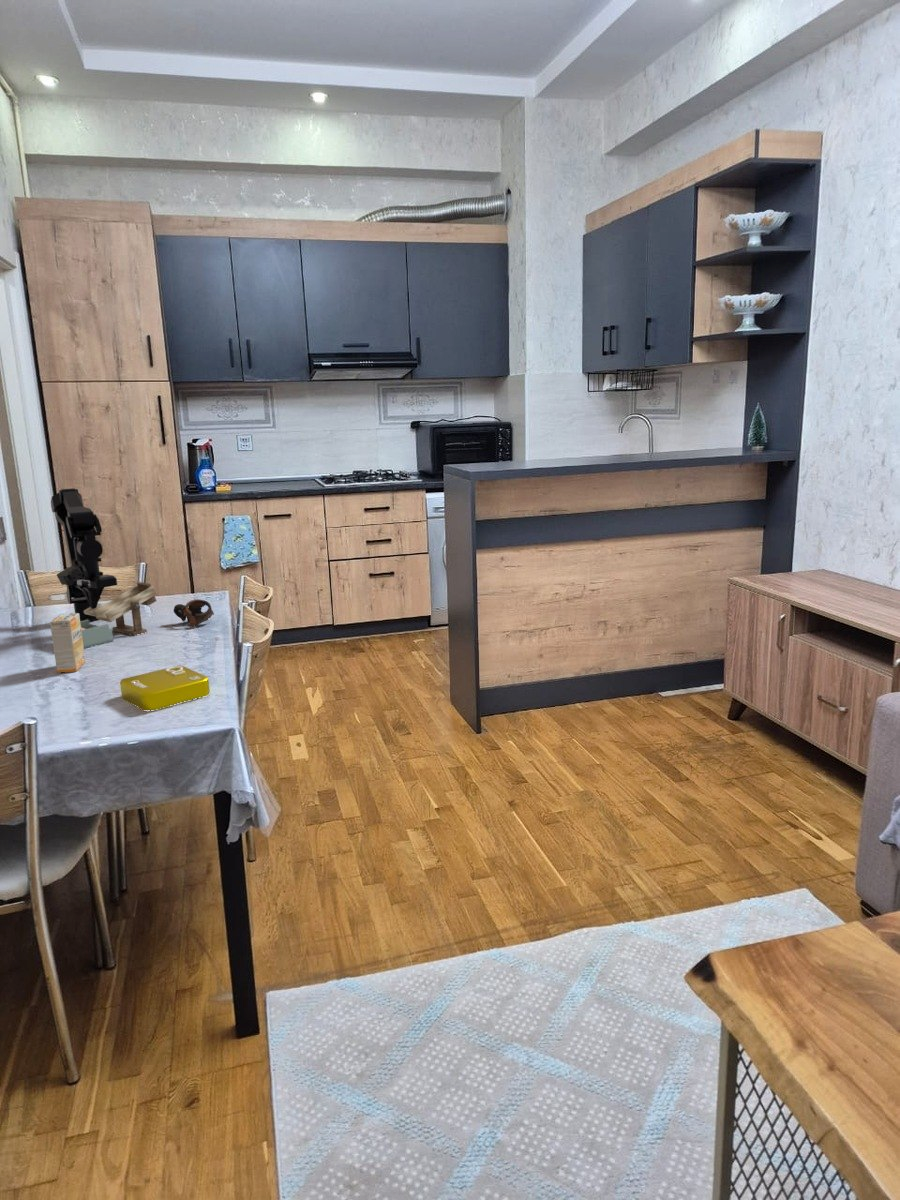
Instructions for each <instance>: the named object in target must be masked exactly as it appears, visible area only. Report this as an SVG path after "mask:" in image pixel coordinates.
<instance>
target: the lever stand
mask: <svg viewBox="0 0 900 1200" xmlns="http://www.w3.org/2000/svg"><path fill="white" fill-rule="evenodd" d="M115 598H116V597H115ZM115 598H113V599H115ZM140 605H141V604H140ZM140 605H139V601H133V602H131V610H130V611H131V617H132V625H129V624H125V617H124V616H125V615H124V614H123V615H122V616H120V617H118V618H117V619H115V624H116V626H114V627H112V628H111V629H112V632H116V631H117V632H116V633H120V632H121V633H120V634H124V633H126V634H125V635H128V634H131V635H130V636H133V635H136V636H138V635H137V634H140V635H142V634H141V633H144V634H146V633H145V632H147V633H148V631H147V628H143V627H142V617H141V606H140Z"/></svg>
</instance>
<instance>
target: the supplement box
mask: <svg viewBox="0 0 900 1200" xmlns="http://www.w3.org/2000/svg"><path fill="white" fill-rule="evenodd" d="M49 624H50V625H49V626H50V632H51V638H52V639H51V640H52V644H53V651H54V659H55V667H56V673H58V674H62V673H61V672H65V673H74V672H75V673H76V672H77V671H78V670H79V669H80V668H81V666H83V665H84V664H85V663H86V656H85V649H84V647H83V639H82V632H81V624H80V616H79V613H75V612H74V613H63V614H59V615H58V616H56V617H55V618H53V619H52V620H51V621H49Z"/></svg>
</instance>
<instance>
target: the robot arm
mask: <svg viewBox="0 0 900 1200" xmlns="http://www.w3.org/2000/svg"><path fill="white" fill-rule="evenodd" d="M50 507H51V512H52V513H54V516H55V519H56V521H58V523H59V524H61V526H62V528H63V532H64V538H65V545H66V548H67V554H68V558H69V562H70V566H69V567H67V568H65V569H63V570H62V571H60V572H58V573H57V574H56V577H57V579H58V580H59V582H60V584H61V585H65V586H66V599H67V602H68V604H70V605H71V604H73V608H74V613H79V616H80V621H84V620H89V622H92V621H97V620H99V619H97V618H96V616H91V615H87V614H84V612H83V611H84V610H86V609H88V608H89V607H91V608H92V609H94V608H96V607H97V605H99V601H100V600H101V596H102V593H103V591H104V590H105V589H104V588H108V587H109V588H110V587H115V586H117V585H118V579H117V577H116V576H115V575H113V574H112V575H111V574H104V572H103V571H100V566H99V562H100V563H101V562H102V557H101V556H102V554H103V550H104V549H103V545H102V544H101V542H100V541H99V540H97V539H96V537H97V536H101V535H102V532H103V531H102V530H103V529H102V525H101V523H100V522H101V521H100V520H99V517H98V516H97V515H96V514H95V513H94V511H93V510H92V509H91V508H89V507H85V506H84V501H83V496H82V494H81V493H79V490H78V488H74V487H72V488H62V489H59V490H58V492H57V493H56V494H54V495H52V496H51V499H50Z"/></svg>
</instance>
